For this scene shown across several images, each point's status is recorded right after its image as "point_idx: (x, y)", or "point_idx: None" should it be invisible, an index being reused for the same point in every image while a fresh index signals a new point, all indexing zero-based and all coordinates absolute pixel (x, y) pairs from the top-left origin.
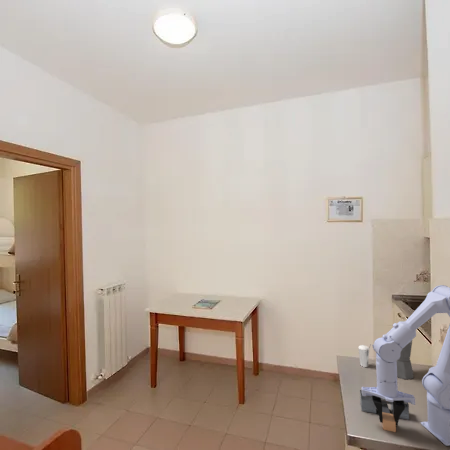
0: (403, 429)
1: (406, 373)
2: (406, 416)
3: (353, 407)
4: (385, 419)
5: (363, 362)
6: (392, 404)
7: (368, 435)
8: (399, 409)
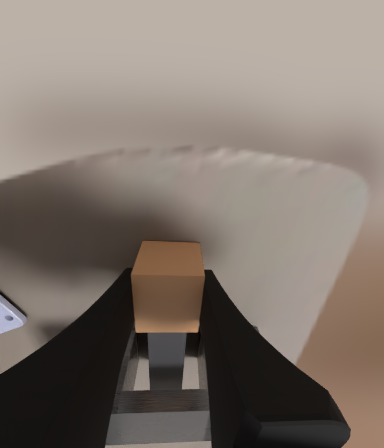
0: (104, 268)
1: None
2: None
3: (282, 337)
4: (188, 282)
5: None
6: (123, 391)
7: (292, 178)
8: (37, 380)
